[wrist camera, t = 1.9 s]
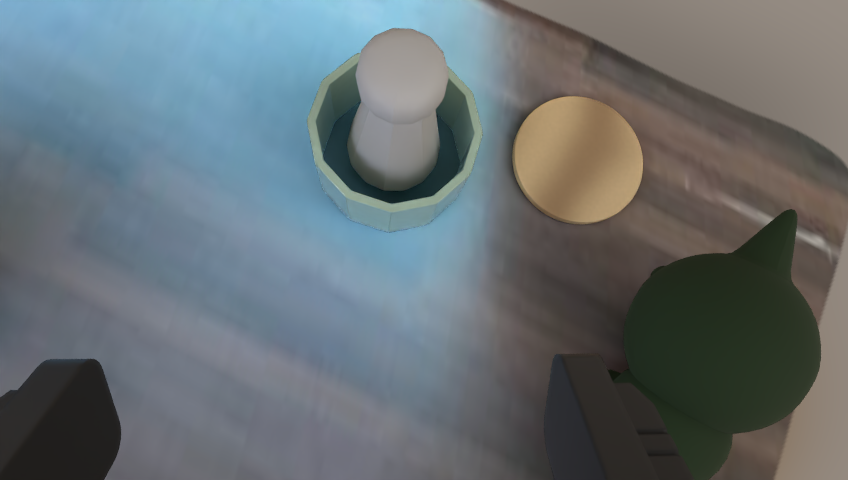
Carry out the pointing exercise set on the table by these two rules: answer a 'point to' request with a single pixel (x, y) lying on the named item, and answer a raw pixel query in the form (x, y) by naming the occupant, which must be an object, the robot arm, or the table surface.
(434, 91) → the salt shaker
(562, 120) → the coaster
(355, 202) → the cup
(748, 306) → the toy figurine
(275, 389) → the table surface
